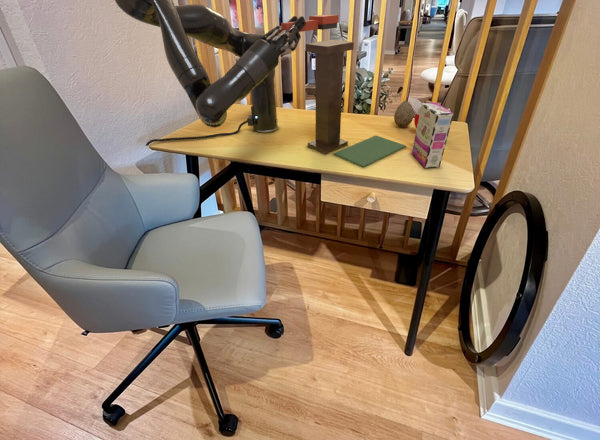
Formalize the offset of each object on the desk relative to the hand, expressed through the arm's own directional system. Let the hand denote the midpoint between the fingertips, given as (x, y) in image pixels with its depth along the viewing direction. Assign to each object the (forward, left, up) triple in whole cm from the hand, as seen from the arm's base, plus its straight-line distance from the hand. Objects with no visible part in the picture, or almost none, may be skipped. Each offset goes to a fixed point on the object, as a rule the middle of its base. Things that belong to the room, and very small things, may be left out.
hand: (300, 19), depth 81 cm
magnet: (+45, +18, -39) cm, 62 cm away
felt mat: (+22, +4, -38) cm, 45 cm away
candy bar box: (+39, -3, -39) cm, 55 cm away
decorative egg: (+37, +27, -39) cm, 60 cm away
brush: (+2, +2, -3) cm, 4 cm away
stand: (+8, +8, -38) cm, 40 cm away
